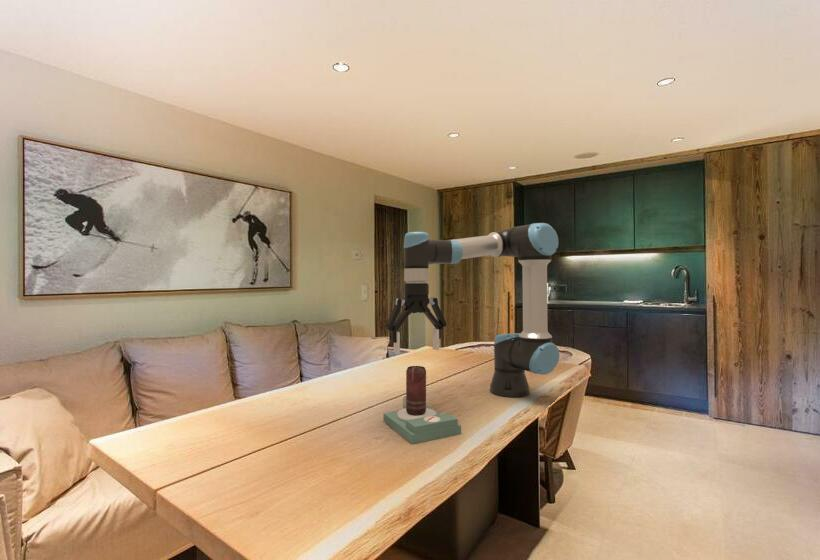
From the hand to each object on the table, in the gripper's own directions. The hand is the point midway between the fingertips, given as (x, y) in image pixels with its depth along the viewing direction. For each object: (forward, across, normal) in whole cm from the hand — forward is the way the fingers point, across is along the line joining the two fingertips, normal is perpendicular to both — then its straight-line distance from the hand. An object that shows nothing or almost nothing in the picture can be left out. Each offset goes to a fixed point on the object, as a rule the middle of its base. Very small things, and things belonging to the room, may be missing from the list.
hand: (416, 351), depth 125 cm
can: (+19, 0, 0) cm, 19 cm away
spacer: (+23, -4, -14) cm, 27 cm away
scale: (+22, 0, +2) cm, 23 cm away
